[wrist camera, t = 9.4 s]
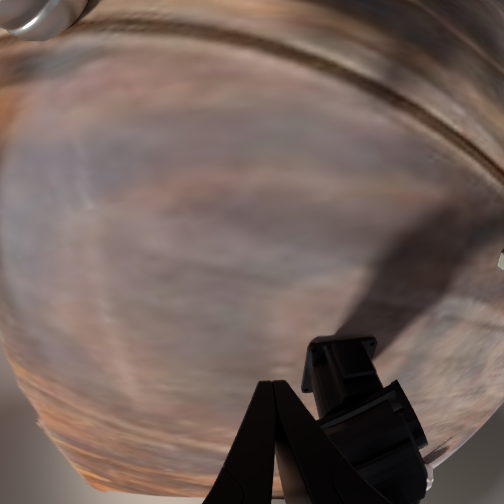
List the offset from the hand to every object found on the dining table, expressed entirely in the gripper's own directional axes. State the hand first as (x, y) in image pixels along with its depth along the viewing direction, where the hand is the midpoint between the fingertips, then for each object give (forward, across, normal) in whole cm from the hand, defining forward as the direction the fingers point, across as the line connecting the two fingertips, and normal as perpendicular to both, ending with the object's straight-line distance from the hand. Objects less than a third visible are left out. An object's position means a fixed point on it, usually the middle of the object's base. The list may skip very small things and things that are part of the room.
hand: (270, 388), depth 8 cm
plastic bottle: (+12, +15, -20) cm, 27 cm away
